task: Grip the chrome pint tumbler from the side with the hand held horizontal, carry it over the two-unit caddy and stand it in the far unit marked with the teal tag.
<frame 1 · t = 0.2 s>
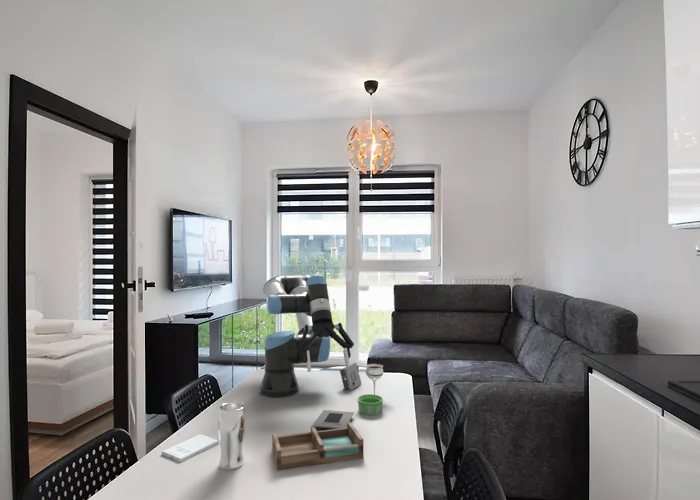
hand: (329, 368, 140), 16 cm above the table, tool tilted 35°, fingers open, 13 cm apart
caddy: (316, 453, 112), on the table
ramekin: (370, 411, 143), on the table
electrical switch: (350, 387, 169), on the table
chrome pint tumbler: (231, 464, 106), on the table
wineglass: (374, 398, 156), on the table
electrical outlet: (333, 425, 132), on the table
external hard drive: (190, 451, 115), on the table
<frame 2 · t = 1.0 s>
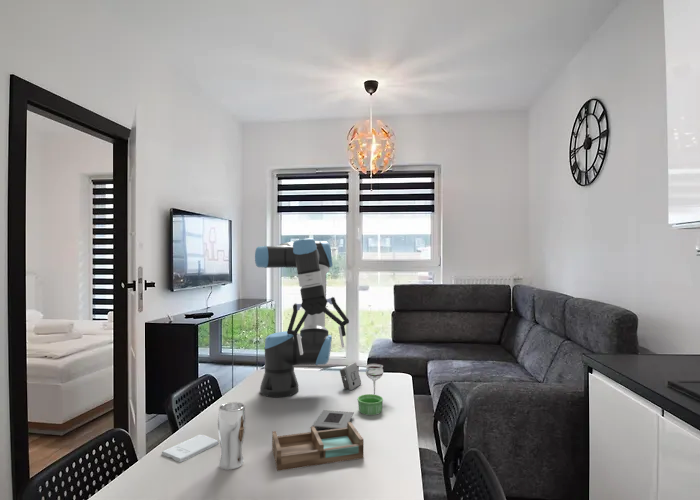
hand: (322, 350, 132), 24 cm above the table, tool pointing down, fingers open, 13 cm apart
nothing on the table moved.
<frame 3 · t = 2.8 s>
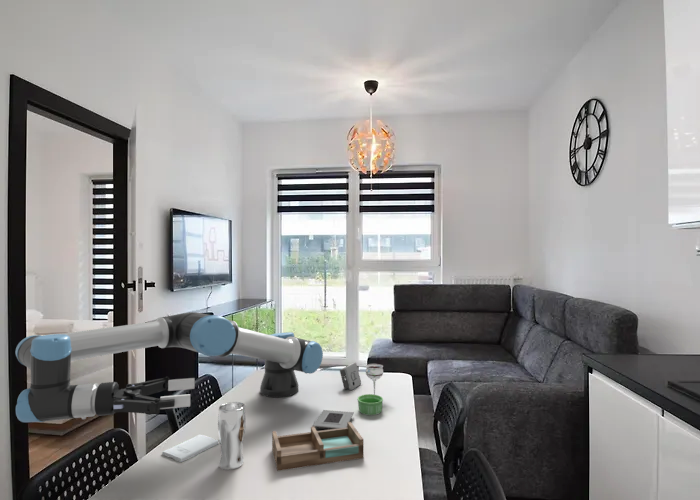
hand: (192, 391, 104), 20 cm above the table, tool horizontal, fingers open, 13 cm apart
nothing on the table moved.
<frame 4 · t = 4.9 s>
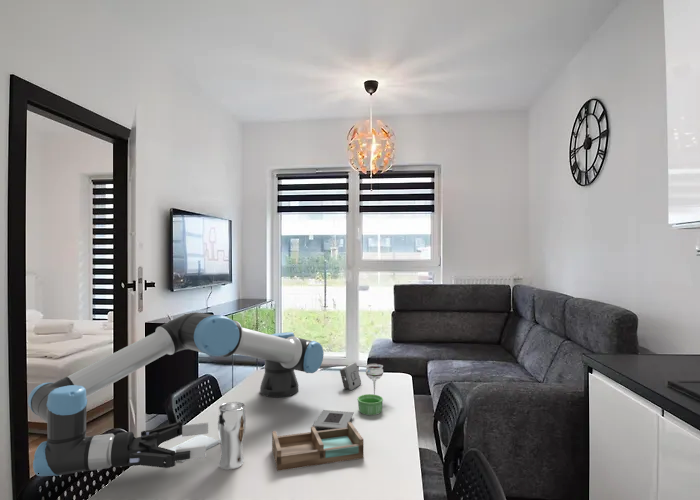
hand: (207, 438, 104), 8 cm above the table, tool horizontal, fingers open, 13 cm apart
nothing on the table moved.
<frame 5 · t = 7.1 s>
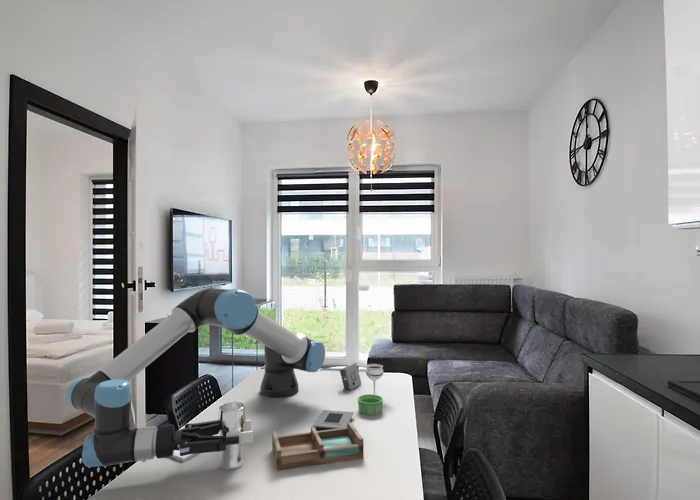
hand: (251, 430, 108), 8 cm above the table, tool horizontal, fingers closed on chrome pint tumbler, 6 cm apart
chrome pint tumbler: (231, 464, 106), on the table, touching gripper
everything else where it was.
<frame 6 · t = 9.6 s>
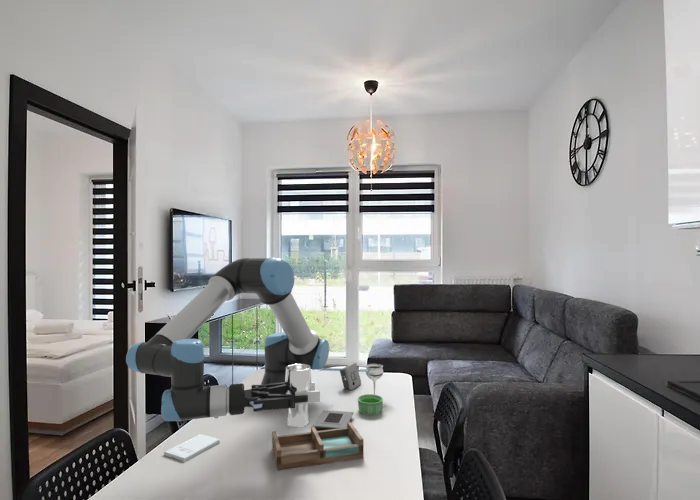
hand: (316, 391, 110), 18 cm above the table, tool horizontal, fingers closed on chrome pint tumbler, 6 cm apart
chrome pint tumbler: (298, 424, 109), point 9 cm above the table, touching gripper
everything else where it was.
when the fingers open (11 cm above the table, at t = 12.3 s): chrome pint tumbler drops 1 cm, resting on caddy.
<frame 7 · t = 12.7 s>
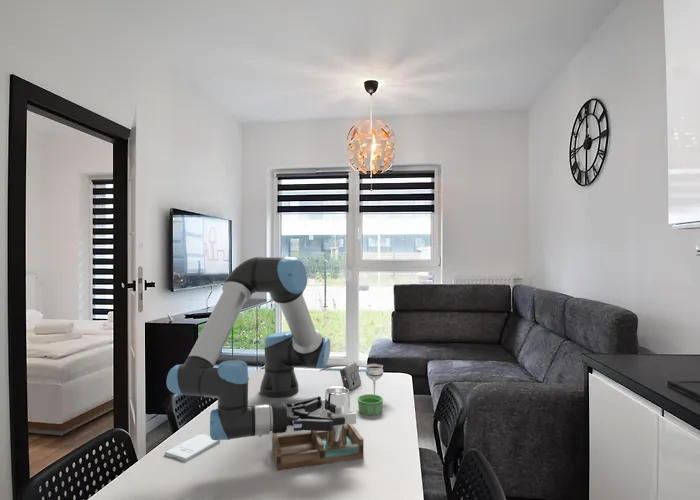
hand: (349, 409, 115), 11 cm above the table, tool horizontal, fingers open, 11 cm apart
chrome pint tumbler: (336, 445, 113), point 2 cm above the table, touching caddy
everything else where it was.
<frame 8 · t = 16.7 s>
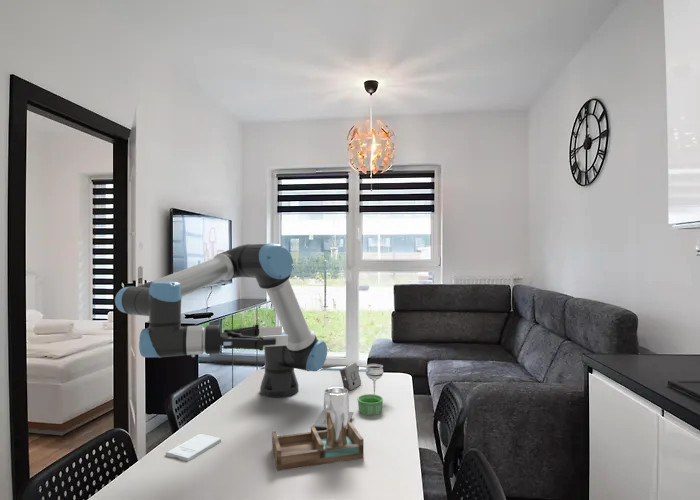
hand: (284, 335, 115), 32 cm above the table, tool horizontal, fingers open, 13 cm apart
nothing on the table moved.
at the end: chrome pint tumbler inside the target area on the caddy (0.3 cm from its centre), point 1.5 cm above the caddy's base; chrome pint tumbler tilted 0°; the gripper is holding nothing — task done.
